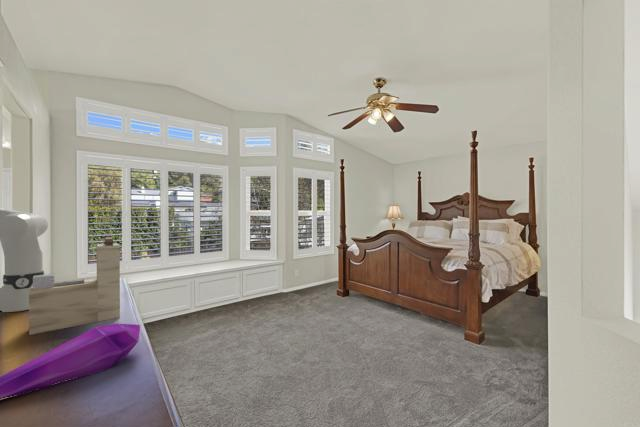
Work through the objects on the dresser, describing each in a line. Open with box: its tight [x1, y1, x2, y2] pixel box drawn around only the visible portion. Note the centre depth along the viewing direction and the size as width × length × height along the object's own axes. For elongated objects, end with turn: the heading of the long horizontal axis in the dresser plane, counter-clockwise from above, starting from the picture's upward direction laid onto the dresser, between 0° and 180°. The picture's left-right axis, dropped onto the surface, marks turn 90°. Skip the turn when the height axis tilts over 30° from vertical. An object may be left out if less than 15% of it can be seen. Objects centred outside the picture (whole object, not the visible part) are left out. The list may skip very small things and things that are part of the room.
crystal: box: [0, 322, 141, 399], centre depth 72 cm, size 9×15×30 cm
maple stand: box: [28, 236, 121, 335], centre depth 103 cm, size 8×24×30 cm, turn 130°
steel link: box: [33, 273, 85, 290], centre depth 100 cm, size 13×4×4 cm, turn 131°
